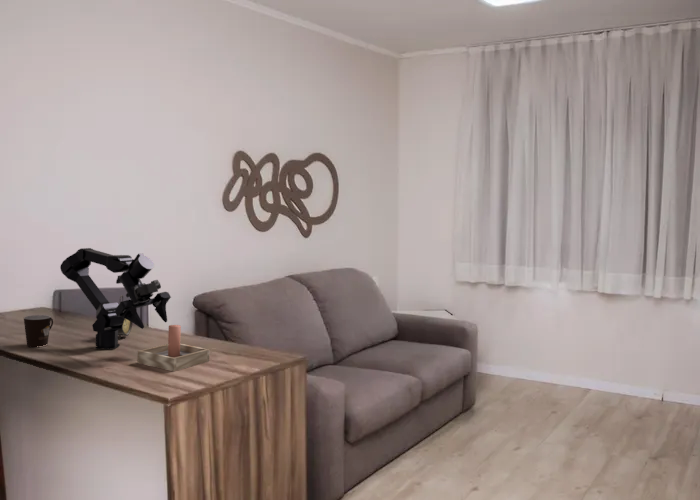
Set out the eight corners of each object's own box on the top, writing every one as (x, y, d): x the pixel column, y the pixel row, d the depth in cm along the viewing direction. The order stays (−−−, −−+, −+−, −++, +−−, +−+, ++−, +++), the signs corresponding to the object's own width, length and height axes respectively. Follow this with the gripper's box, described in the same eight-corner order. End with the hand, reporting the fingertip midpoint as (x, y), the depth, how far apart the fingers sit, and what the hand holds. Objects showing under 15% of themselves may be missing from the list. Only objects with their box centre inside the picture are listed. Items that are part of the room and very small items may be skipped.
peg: (177, 360, 207) (178, 324, 206) (181, 363, 203) (182, 326, 202) (166, 361, 205) (167, 325, 204) (169, 364, 201) (170, 327, 200)
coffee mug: (30, 349, 212) (31, 320, 211) (18, 345, 217) (18, 316, 216) (64, 344, 221) (64, 316, 221) (51, 340, 226) (51, 313, 226)
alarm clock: (122, 341, 230) (123, 297, 229) (107, 340, 230) (108, 297, 229) (133, 335, 241) (134, 293, 240) (119, 334, 241) (120, 292, 240)
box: (209, 361, 207) (209, 349, 207) (173, 371, 193) (174, 358, 193) (174, 353, 215) (174, 342, 215) (137, 363, 201) (137, 350, 201)
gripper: (119, 277, 200) (141, 318, 196) (167, 268, 215) (188, 306, 211) (105, 297, 206) (126, 336, 202) (153, 286, 221) (173, 323, 217)
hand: (155, 324), depth 208 cm, fingers open, 9 cm apart
